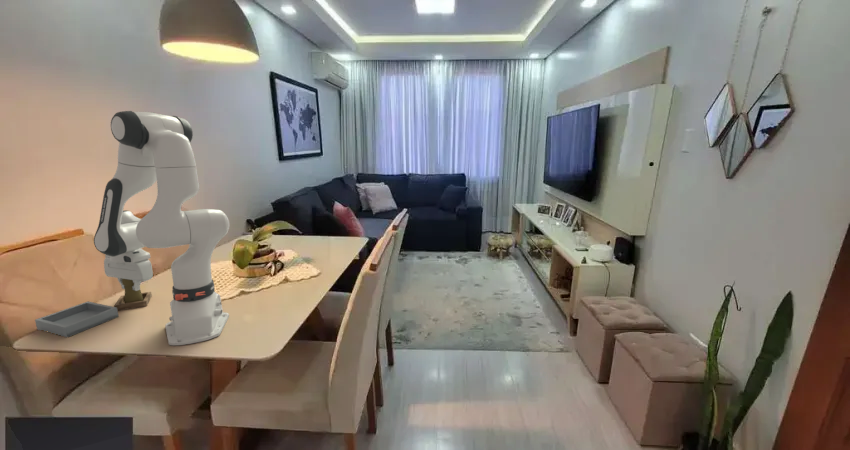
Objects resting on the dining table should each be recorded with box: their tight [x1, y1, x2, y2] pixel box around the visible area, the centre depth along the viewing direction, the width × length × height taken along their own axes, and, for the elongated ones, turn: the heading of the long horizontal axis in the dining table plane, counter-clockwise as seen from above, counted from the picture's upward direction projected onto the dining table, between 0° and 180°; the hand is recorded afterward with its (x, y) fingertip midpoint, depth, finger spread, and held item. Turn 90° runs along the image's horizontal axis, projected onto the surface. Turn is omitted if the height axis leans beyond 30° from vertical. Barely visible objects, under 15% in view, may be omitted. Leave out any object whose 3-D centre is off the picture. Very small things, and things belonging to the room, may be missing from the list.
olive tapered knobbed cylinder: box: [122, 279, 145, 303], centre depth 140 cm, size 6×6×11 cm
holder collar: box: [113, 291, 153, 311], centre depth 141 cm, size 10×10×2 cm
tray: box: [34, 300, 120, 338], centre depth 126 cm, size 15×15×4 cm
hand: (131, 289), depth 140 cm, fingers open, 4 cm apart
